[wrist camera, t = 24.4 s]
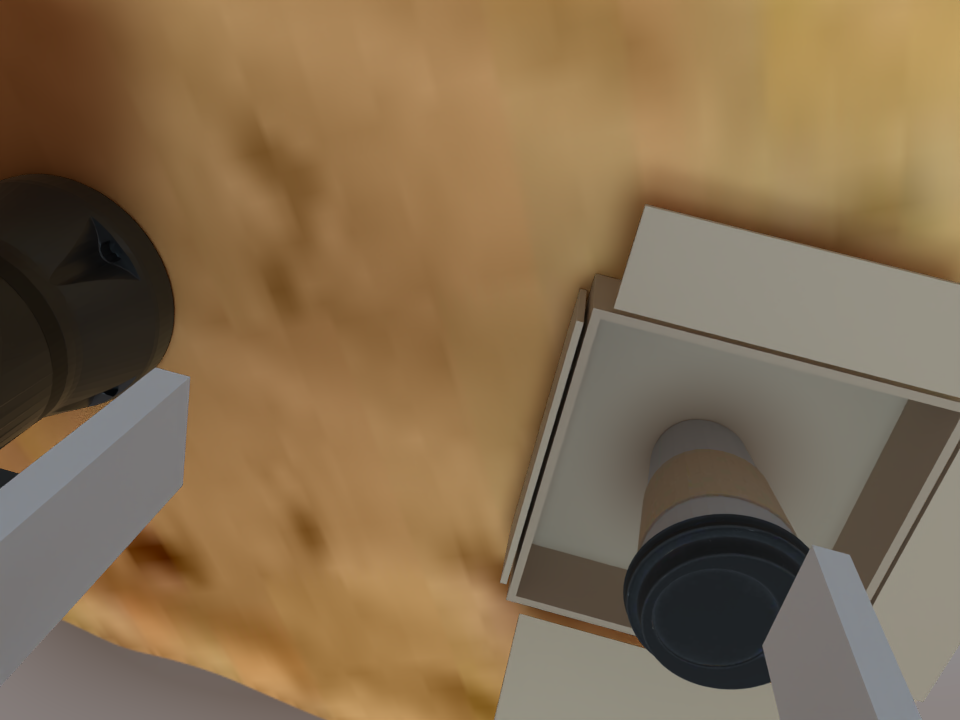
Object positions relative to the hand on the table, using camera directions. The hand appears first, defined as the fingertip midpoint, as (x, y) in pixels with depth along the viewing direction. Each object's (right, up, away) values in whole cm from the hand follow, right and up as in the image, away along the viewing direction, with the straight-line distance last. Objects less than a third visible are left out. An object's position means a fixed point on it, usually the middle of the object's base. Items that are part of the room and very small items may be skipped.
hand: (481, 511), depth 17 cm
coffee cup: (+14, -3, +34) cm, 37 cm away
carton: (+17, -1, +33) cm, 37 cm away
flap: (+10, -18, +31) cm, 37 cm away
